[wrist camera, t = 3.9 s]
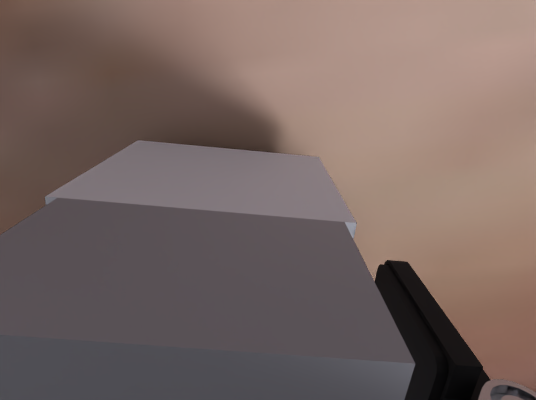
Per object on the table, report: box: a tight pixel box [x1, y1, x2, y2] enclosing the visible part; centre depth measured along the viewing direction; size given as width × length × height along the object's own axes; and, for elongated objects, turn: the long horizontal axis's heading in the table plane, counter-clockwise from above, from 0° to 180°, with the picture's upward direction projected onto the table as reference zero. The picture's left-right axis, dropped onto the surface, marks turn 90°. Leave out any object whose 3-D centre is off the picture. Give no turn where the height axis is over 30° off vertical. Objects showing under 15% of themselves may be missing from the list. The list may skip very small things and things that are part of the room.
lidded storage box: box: [0, 140, 415, 400], centre depth 8 cm, size 8×5×8 cm, turn 175°
